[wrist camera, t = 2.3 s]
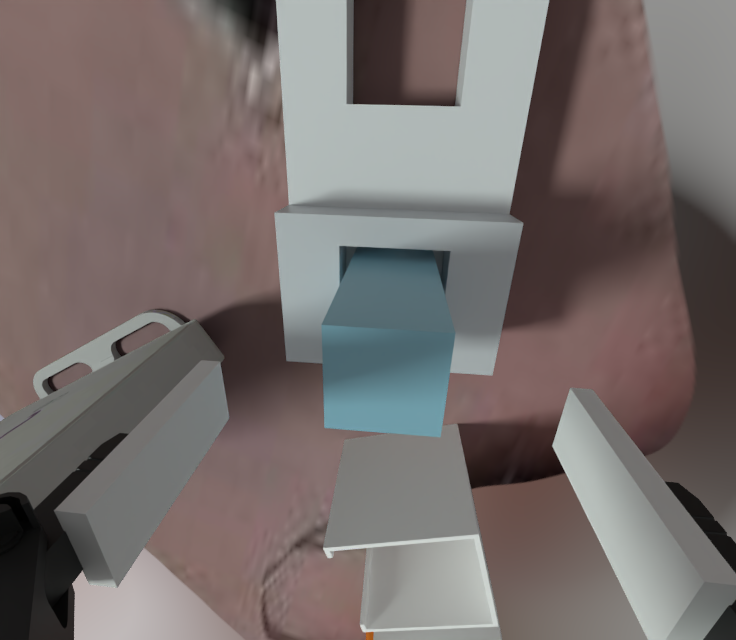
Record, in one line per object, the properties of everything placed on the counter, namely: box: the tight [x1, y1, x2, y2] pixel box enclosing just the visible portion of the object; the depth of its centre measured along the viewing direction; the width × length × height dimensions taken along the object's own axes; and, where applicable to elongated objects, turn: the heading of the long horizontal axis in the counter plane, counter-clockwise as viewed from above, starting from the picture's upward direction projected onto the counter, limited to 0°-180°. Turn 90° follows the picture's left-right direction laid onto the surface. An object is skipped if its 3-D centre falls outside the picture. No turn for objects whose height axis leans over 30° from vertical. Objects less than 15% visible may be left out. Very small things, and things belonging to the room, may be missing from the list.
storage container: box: [323, 424, 502, 640], centre depth 35 cm, size 25×11×11 cm, turn 15°
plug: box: [321, 247, 456, 437], centre depth 20 cm, size 6×5×12 cm
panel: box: [275, 0, 549, 375], centre depth 23 cm, size 24×14×6 cm, turn 179°
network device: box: [0, 310, 225, 509], centre depth 26 cm, size 26×9×20 cm, turn 118°
